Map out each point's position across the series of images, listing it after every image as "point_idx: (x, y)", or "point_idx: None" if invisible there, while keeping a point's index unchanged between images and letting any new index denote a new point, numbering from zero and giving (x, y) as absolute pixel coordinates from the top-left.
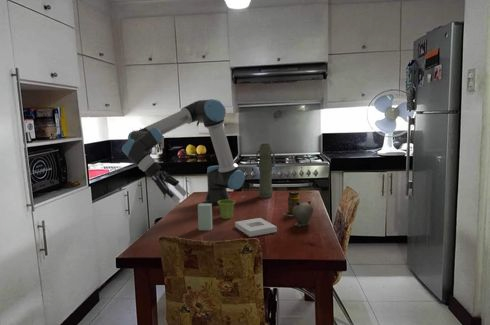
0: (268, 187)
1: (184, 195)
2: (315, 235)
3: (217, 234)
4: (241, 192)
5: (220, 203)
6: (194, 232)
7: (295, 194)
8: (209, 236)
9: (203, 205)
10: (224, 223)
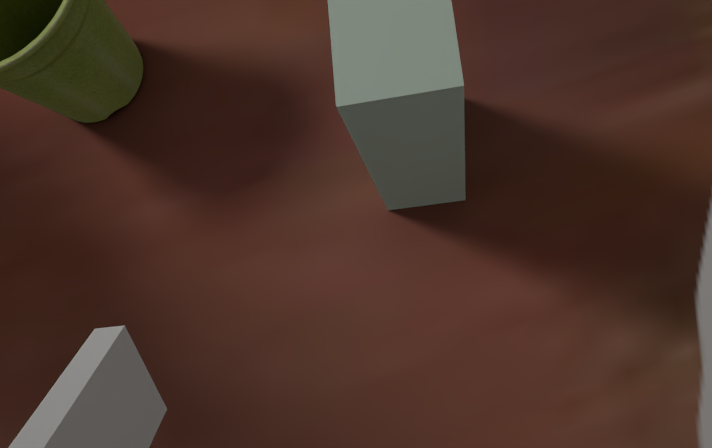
0: None
1: (155, 392)
2: None
3: (548, 10)
4: None
5: (54, 21)
6: (536, 214)
7: None
8: (614, 53)
9: (445, 9)
10: (257, 47)
